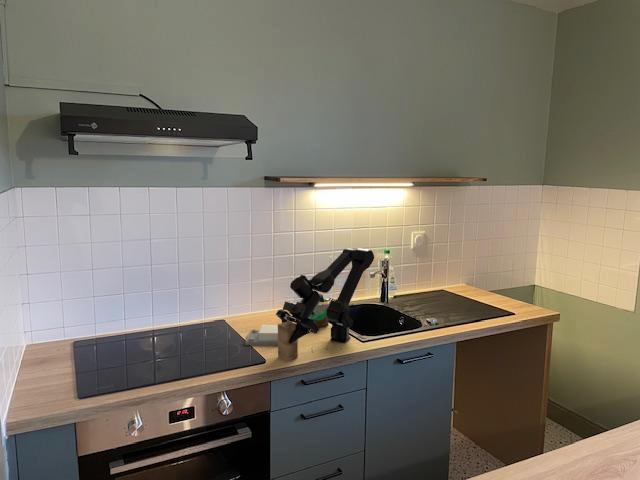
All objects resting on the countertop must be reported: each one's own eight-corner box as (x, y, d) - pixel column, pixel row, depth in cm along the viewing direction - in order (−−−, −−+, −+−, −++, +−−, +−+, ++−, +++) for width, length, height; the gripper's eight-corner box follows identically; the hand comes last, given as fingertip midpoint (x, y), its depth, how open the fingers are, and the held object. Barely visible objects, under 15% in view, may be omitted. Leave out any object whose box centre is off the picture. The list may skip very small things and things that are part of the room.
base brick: (299, 333, 206) (299, 323, 205) (297, 345, 192) (297, 335, 191) (250, 332, 206) (250, 323, 205) (245, 345, 192) (245, 334, 191)
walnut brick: (288, 353, 183) (288, 321, 181) (297, 357, 180) (297, 324, 178) (278, 357, 180) (277, 324, 178) (286, 361, 176) (286, 327, 174)
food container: (299, 325, 216) (299, 303, 214) (306, 321, 221) (306, 299, 220) (324, 329, 210) (324, 306, 208) (331, 325, 215) (331, 303, 214)
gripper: (279, 288, 186) (255, 323, 180) (313, 297, 172) (289, 336, 166) (295, 304, 192) (273, 338, 186) (329, 315, 179) (306, 352, 173)
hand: (284, 341), depth 178 cm, fingers closed on walnut brick, 5 cm apart
